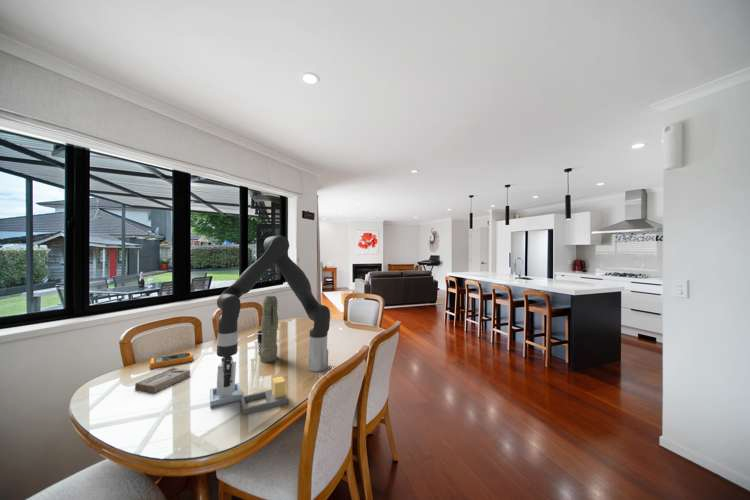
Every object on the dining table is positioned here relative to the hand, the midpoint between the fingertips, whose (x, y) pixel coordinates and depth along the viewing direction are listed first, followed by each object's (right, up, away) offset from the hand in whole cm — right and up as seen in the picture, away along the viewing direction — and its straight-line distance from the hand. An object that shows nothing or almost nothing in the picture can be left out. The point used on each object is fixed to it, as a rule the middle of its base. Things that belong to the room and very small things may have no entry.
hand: (226, 383), depth 114 cm
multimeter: (-46, -5, +32) cm, 56 cm away
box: (-34, -5, +11) cm, 36 cm away
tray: (0, -6, 0) cm, 6 cm away
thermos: (+2, -6, +40) cm, 41 cm away
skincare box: (0, -4, 0) cm, 4 cm away
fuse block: (+16, -6, -3) cm, 17 cm away
